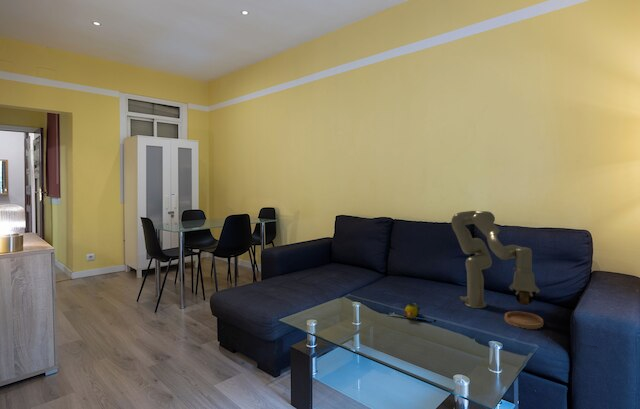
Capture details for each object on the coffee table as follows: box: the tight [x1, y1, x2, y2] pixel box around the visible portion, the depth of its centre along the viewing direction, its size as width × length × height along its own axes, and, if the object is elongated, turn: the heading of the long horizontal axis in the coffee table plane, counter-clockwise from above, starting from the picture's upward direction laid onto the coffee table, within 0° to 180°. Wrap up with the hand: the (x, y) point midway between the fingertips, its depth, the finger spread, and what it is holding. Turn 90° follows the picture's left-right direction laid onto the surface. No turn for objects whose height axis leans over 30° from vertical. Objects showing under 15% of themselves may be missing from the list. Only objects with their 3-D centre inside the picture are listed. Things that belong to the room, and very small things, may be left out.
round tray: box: [503, 310, 544, 330], centre depth 191 cm, size 19×19×2 cm
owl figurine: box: [387, 302, 422, 321], centre depth 203 cm, size 28×9×15 cm
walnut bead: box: [518, 291, 530, 306], centre depth 189 cm, size 5×5×7 cm
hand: (524, 301), depth 190 cm, fingers closed on walnut bead, 5 cm apart
